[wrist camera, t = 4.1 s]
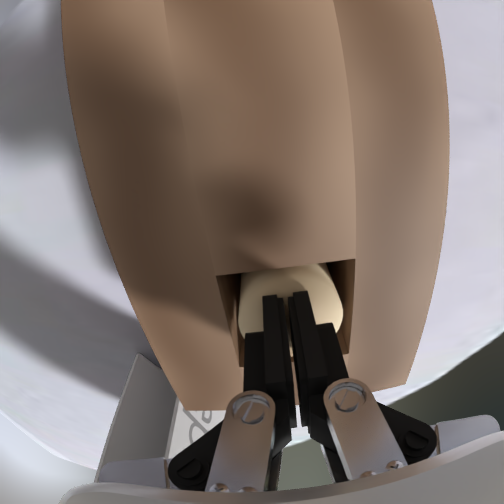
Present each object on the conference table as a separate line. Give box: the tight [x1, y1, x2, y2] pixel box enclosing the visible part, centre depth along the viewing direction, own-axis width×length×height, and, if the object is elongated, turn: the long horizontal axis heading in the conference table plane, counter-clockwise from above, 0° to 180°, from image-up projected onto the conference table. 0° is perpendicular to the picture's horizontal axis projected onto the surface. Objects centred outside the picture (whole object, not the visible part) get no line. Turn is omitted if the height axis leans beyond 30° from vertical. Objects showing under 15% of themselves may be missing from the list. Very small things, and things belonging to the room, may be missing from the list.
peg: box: [238, 262, 343, 357], centre depth 14 cm, size 4×4×8 cm
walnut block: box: [61, 0, 449, 411], centre depth 11 cm, size 12×26×8 cm, turn 8°
